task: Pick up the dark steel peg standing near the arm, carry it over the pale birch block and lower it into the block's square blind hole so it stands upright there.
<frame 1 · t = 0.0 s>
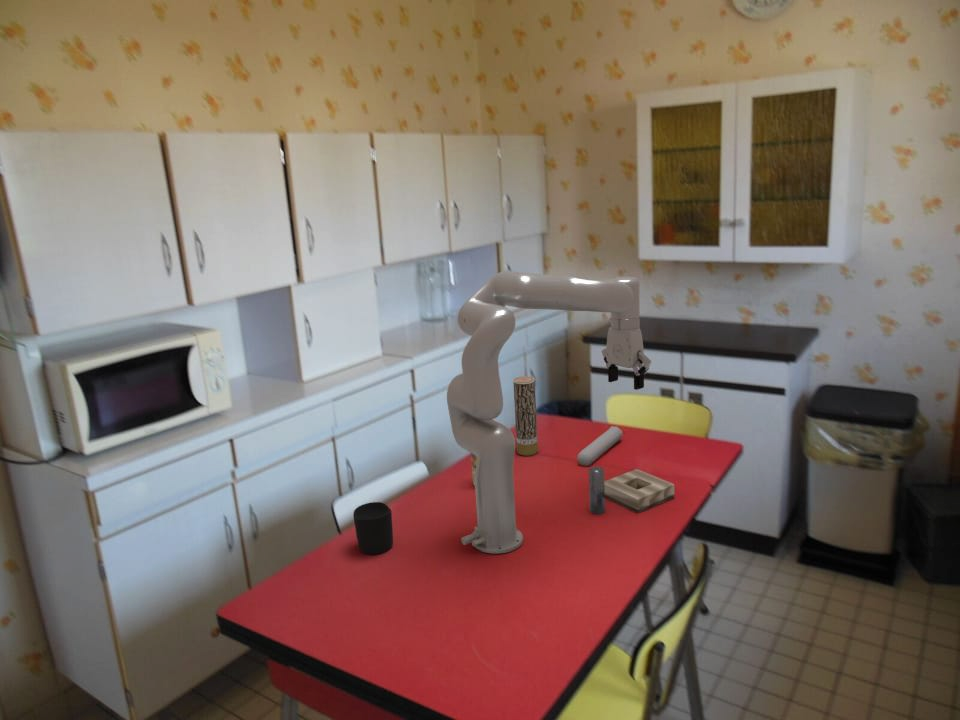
hand: (625, 384, 196), 31 cm above the table, fingers open, 9 cm apart
candy box: (488, 483, 214), on the table
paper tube: (527, 453, 235), on the table
pen holder: (376, 547, 182), on the table
steel peg: (597, 510, 193), on the table
socket block: (637, 496, 200), on the table
tube: (599, 454, 231), on the table
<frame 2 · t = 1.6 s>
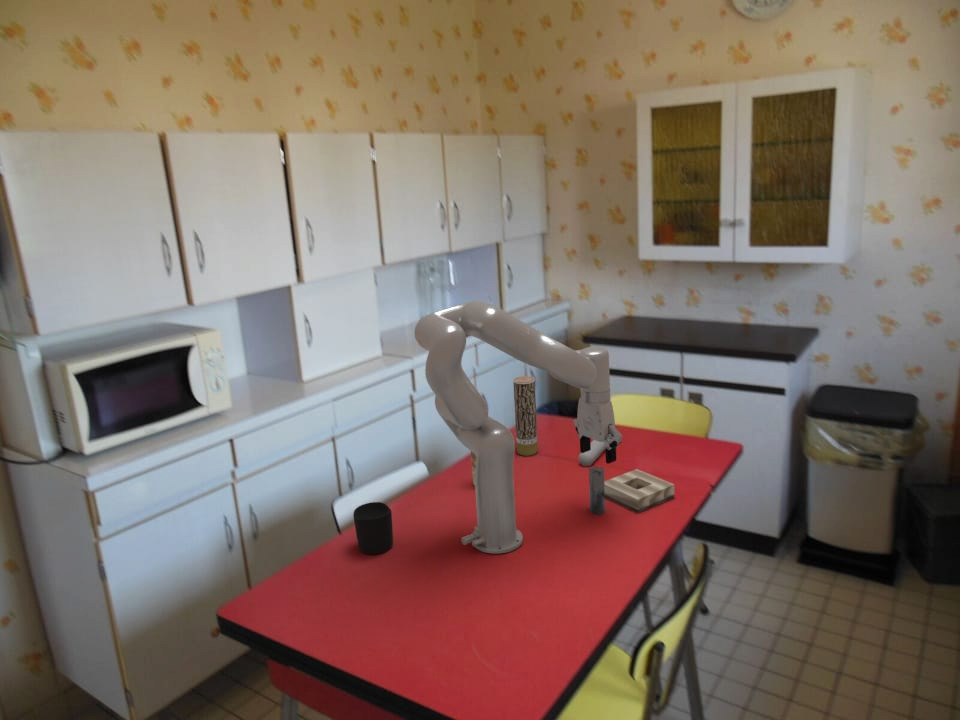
hand: (598, 456, 189), 15 cm above the table, fingers open, 9 cm apart
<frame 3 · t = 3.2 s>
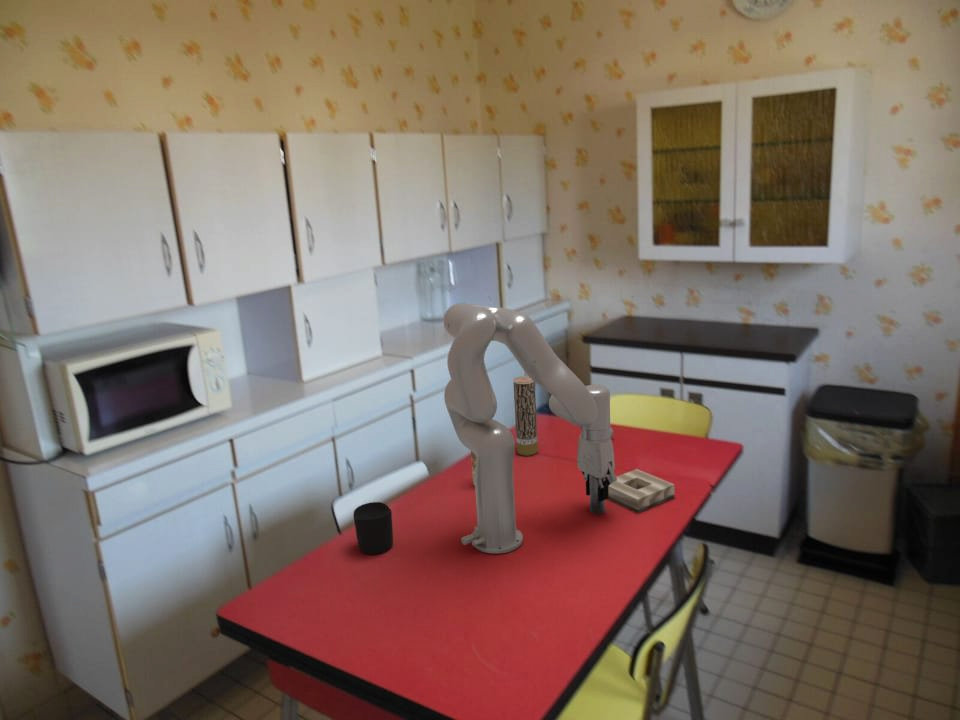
hand: (597, 496, 192), 4 cm above the table, fingers closed on steel peg, 4 cm apart
steel peg: (597, 510, 193), on the table, touching gripper
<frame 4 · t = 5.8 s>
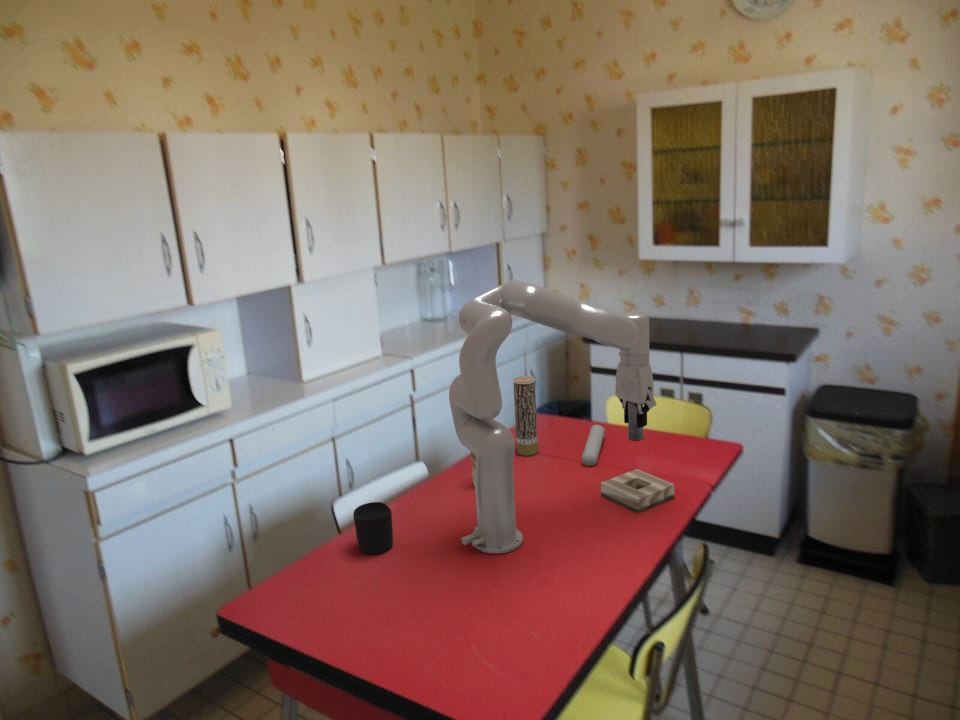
hand: (635, 423, 194), 22 cm above the table, fingers closed on steel peg, 4 cm apart
steel peg: (635, 438, 195), point 17 cm above the table, touching gripper
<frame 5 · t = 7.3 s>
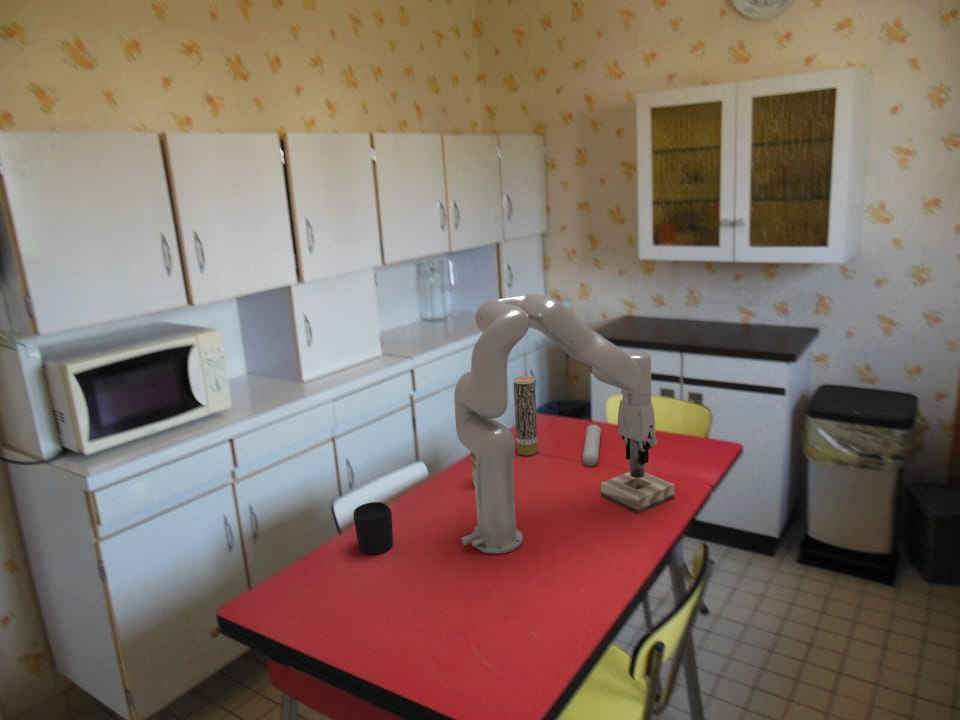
hand: (637, 460, 197), 11 cm above the table, fingers closed on steel peg, 4 cm apart
steel peg: (637, 474, 198), point 7 cm above the table, touching gripper
when the fingers open (6 cm above the table, at t = 8.6 s): steel peg stays where it is, resting on socket block.
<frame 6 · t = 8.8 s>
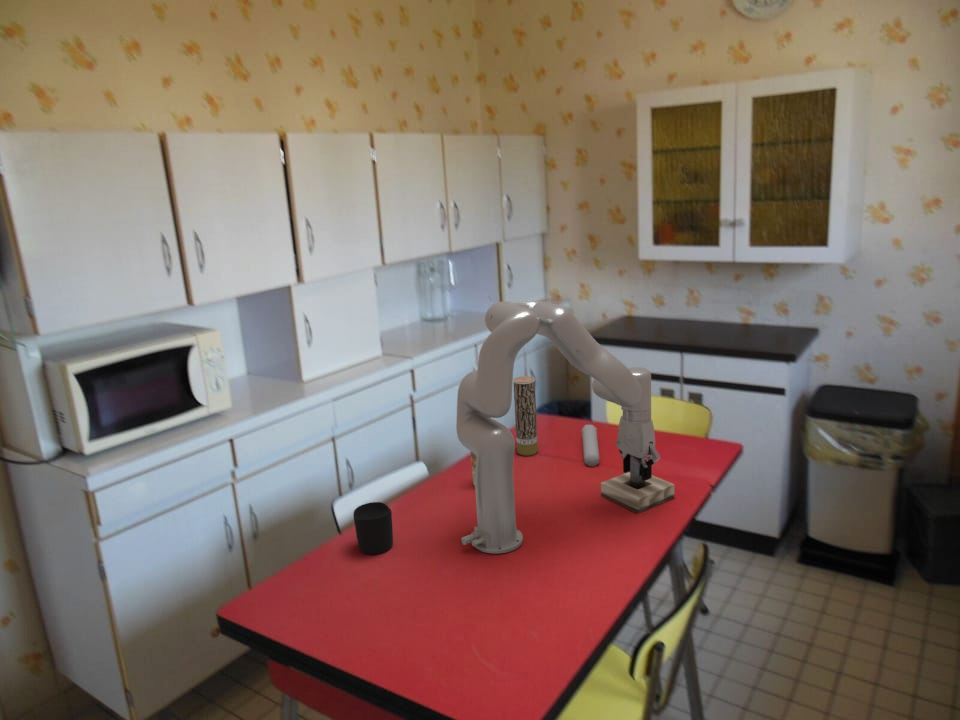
hand: (637, 474, 198), 7 cm above the table, fingers open, 6 cm apart
steel peg: (637, 493, 199), point 1 cm above the table, touching socket block
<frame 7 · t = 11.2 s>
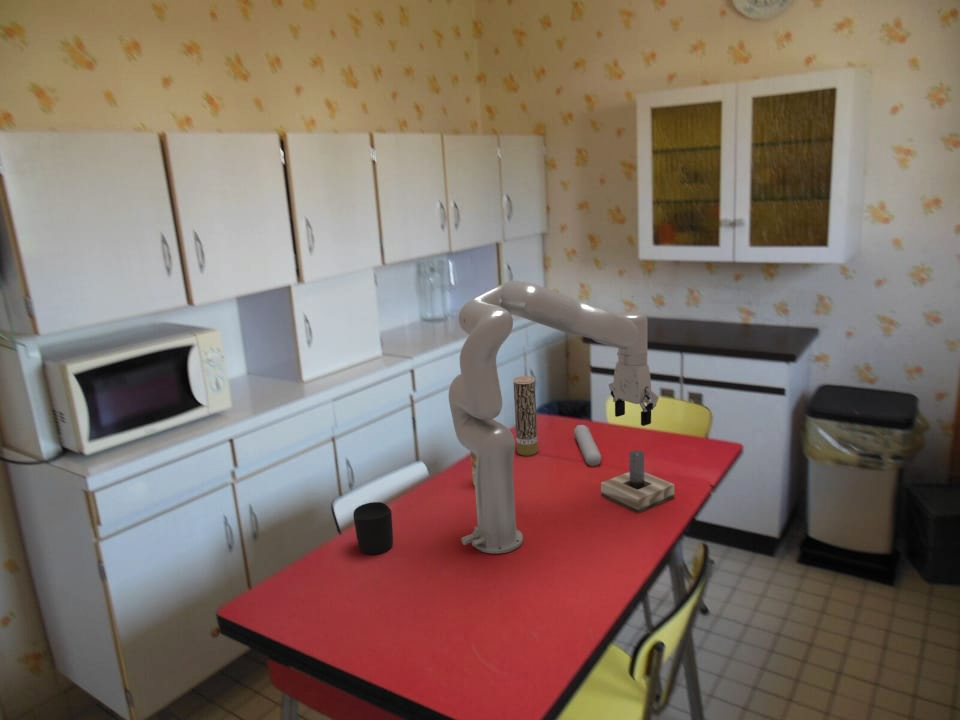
hand: (632, 420, 194), 23 cm above the table, fingers open, 9 cm apart
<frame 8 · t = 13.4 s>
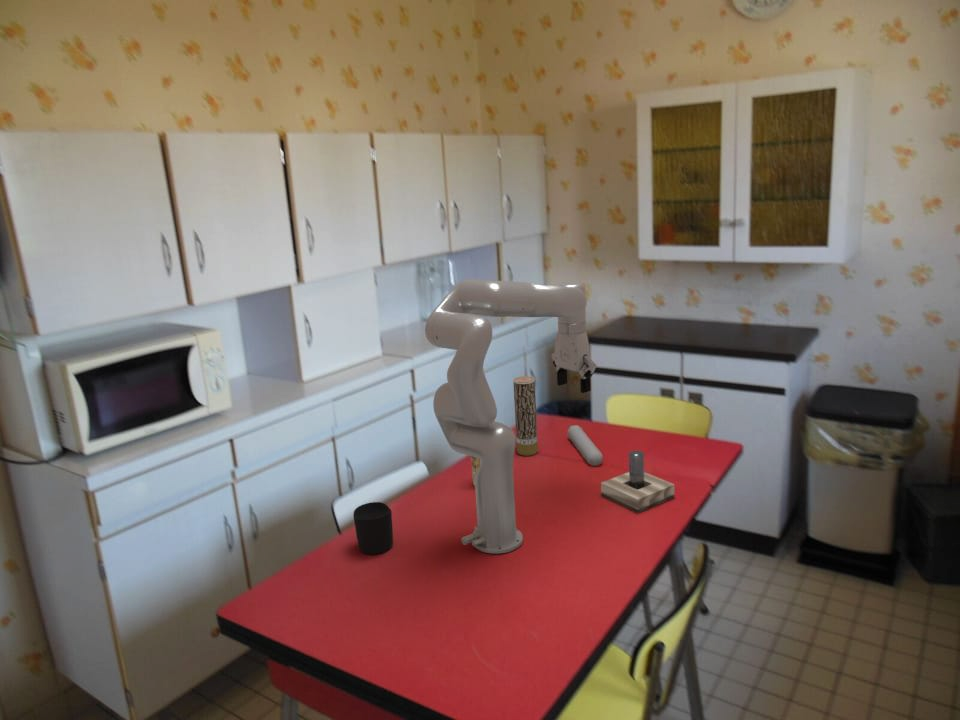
hand: (573, 388, 199), 30 cm above the table, fingers open, 9 cm apart
at the end: steel peg 0.1 cm off-centre on the socket block, point 1.0 cm above the socket block's base; steel peg tilted 1°; the gripper is holding nothing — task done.
